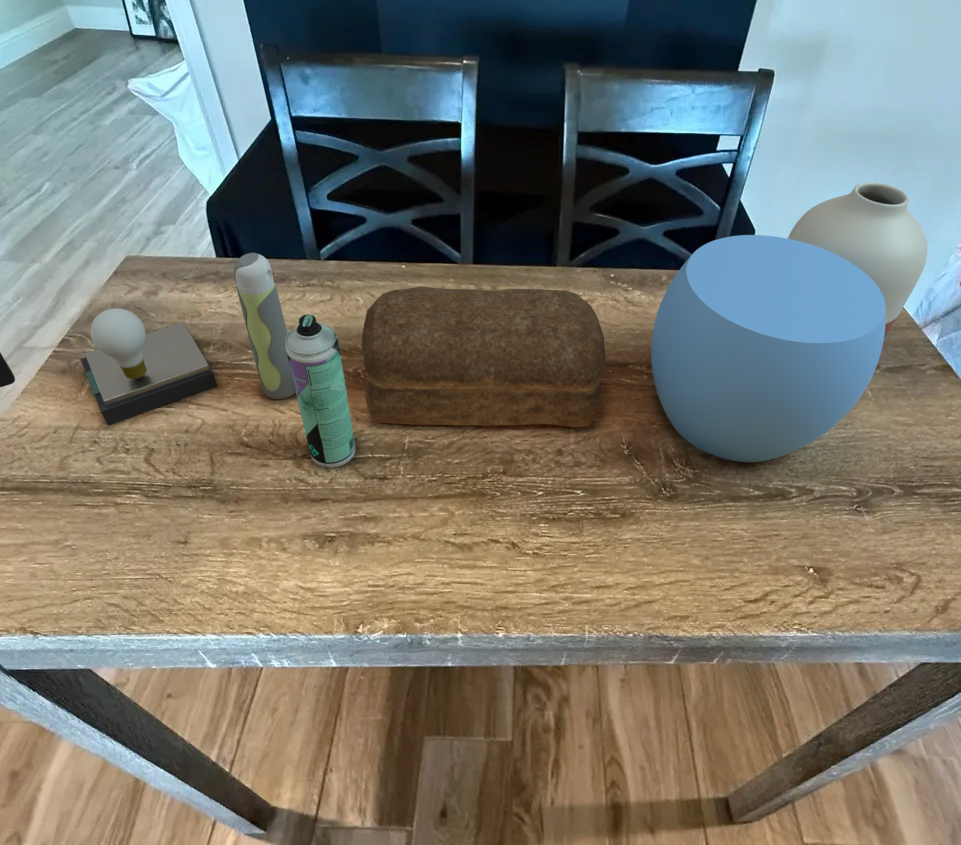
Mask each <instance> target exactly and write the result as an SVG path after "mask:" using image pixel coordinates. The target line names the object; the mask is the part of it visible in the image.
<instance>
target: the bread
mask: <svg viewBox="0 0 961 845" xmlns="http://www.w3.org/2000/svg"><path fill="white" fill-rule="evenodd" d="M605 347H606V346H605V337H604V333H603V330H602V327H601V324H600V321H599V318H598V316H597V314H596V312H595V309H594V308H593V306H591V305H590V304H589V302H587V301H586V300H584V298H583V297H581V296H580V295H579V294H577V293H575V292H572V291H569V290H565V289H564V290H563V289H545V288H544V289H542V288H506V289H498V290H491V289H471V288H442V287H440V288H439V287H430V286H415V287H410V288H400V289H399V288H398V289H393V290H390V291H387V292H383V293H381V294H380V296H379V297H377V298H376V300H374V301H373V303H372V304H371V305H370V307H368V309H367V310H366V313H365V318H364V324H363V329H362V335H361V354H362V363H363V367H364V371H365V376H366V377H365V380H366V381H365V403H366V407H367V411H368V413H369V415H370V416H371V417H372V418H371V419H373V420H374V422H375V423H379V424H396V425H417V426H419V425H421V426H422V425H424V426H426V425H428V426H429V425H432V426H436V425H437V426H439V425H440V426H446V425H447V426H487V427H488V426H489V427H490V426H524V425H525V426H527V425H554V426H563V427H569V428H586V427H590V426H591V424H592V422H593V421H594V419H595V417H596V413H597V411H598V408H599V406H600V401H601V379H602V377H603V373H604V369H605V365H606V349H605Z"/></svg>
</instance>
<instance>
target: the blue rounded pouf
mask: <svg viewBox="0 0 961 845" xmlns="http://www.w3.org/2000/svg"><path fill="white" fill-rule="evenodd" d="M885 323H886V307H885V300H884V297H883V295H882V293H881V291H880V289H879V288H878V286H877V285H876V283H875V282H874V281H873V280H872V279H871V278H870V277H869V276H868V275H867V274H866V273H865V272H863V271H862V270H861V269H860V268H858V267H857V266H855V265H854V264H852V263H851V262H849V261H847V260H846V259H844V258H842V257H840V256H838V255H836V254H834V253H832V252H830V251H827V250H825V249H822V248H820V247H817V246H814V245H811V244H808V243H804V242H800V241H796V240H792V239H788V237H787V238H786V237H783V236H782V237H780V236H773V235H763V234H760V235H759V234H741V235H732V236H726V237H722V238H717V239H715V240H714V239H713V240H712V241H710V242H707V243H705V244H703V245H702V246H700V247H698V248H697V249H696V250H695V251H694V252H693V253H692V254H691V255H690V256H689V257H688V259H687V260H686V261H685V262H684V263H683V265H681V267H680V268H679V270H678V271H677V272H676V274H675V275H674V277H673V279H672V281H671V282H670V283H669V285H668V287H667V289H666V291H665V293H664V295H663V297H662V299H661V302H660V304H659V306H658V309H657V313H656V315H655V320H654V323H653V328H652V335H651V344H650V363H651V370H652V377H653V378H652V379H653V384H654V387H655V390H656V394H657V396H658V399H659V401H660V404H661V406H662V408H663V411H664V413H665V415H666V417H667V419H668V420H669V422H670V423H671V425H672V427H673V428H674V429H675V431H676V432H677V433H678V434H679V435H680V436H681V437H682V438H683V439H684V440H685V441H687V442H688V443H689V444H691V445H692V446H694V447H695V448H697V449H699V450H701V451H703V452H705V453H707V454H709V455H712V456H714V457H717V458H720V459H723V460H726V461H727V460H728V461H732V462H738V463H760V462H767V461H770V460H774V459H779V458H781V457H784V456H787V455H788V454H792V453H793V452H795V451H798V450H800V449H801V448H804V447H806V446H808V445H809V444H811V443H813V442H814V441H816V440H818V439H819V438H821V437H822V436H824V435H825V434H827V432H829V431H830V430H832V429H833V428H834V427H835V426H836V425H837V424H838V423H840V421H842V420H843V419H844V418H845V417H846V416H847V415H848V413H850V411H851V410H852V409H853V408H854V406H855V405H856V404H857V403H858V402H859V400H860V398H862V396H863V394H864V392H865V391H866V389H867V388H868V386H869V384H870V382H871V380H872V379H873V376H874V374H875V372H876V369H877V367H878V364H879V361H880V358H881V354H882V350H883V345H884V341H885V339H884V334H885Z"/></svg>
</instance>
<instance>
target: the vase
mask: <svg viewBox="0 0 961 845" xmlns="http://www.w3.org/2000/svg"><path fill="white" fill-rule="evenodd" d="M909 201H910V199H909V196H908V195H907V193H905V192H904V191H903V190H902V189H899V188H898V187H895V186H893V185H890V184H887V183H882V182H874V181H867V182H866V181H864V182H860V183H858V184H856V185H855V186H854V187H853V189H852V190H851V191H850V193H847V194H843V195H840V196H836V197H832V198H830V199H826V200H824V201H822V202H820V203H818V204H816V205H814V206H812V207H810V209H808V210H807V211H806V212H805V213H803V215H802V216H801V217H800V218H799V219H798V221H797V222H796V223H795V224H794V226H793V227H792V229H791V231H790V232H789V235H788V236H787V239H792V240H796V241H800V242H804V243H808V244H811V245H814V246H817V247H820V248H822V249H825V250H827V251H830V252H832V253H834V254H836V255H838V256H840V257H842V258H844V259H846V260H847V261H849V262H851V263H852V264H854V265H855V266H857V267H858V268H860V269H861V270H862V271H863V272H865V273H866V274H867V275H868V276H869V277H870V278H871V279H872V280H873V281H874V282H875V283H876V285H877V286H878V288H879V289H880V291H881V293H882V295H883V297H884V300H885V307H886V323H885V334H884V340H885V339H886V337H887V336H888V334H889V332H890V331H891V329H892V328H893V325H894V324H895V322H896V320H897V319H898V317H899V315H900V314H901V312H902V310H903V309H904V306H906V303H907V301H908V300H909V298H910V296H911V295H912V293H913V291H914V289H915V287H916V285H917V284H918V281H919V280H920V278H921V275H922V273H923V271H924V269H925V266H926V262H927V258H928V257H927V256H928V240H927V237H926V234H925V232H924V230H923V228H922V226H921V225H920V222H918V220H917V219H916V218H915V217H914V215H913V214H912V213H911V212H910V211H909V209H908V205H909Z"/></svg>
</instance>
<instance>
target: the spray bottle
mask: <svg viewBox="0 0 961 845" xmlns="http://www.w3.org/2000/svg"><path fill="white" fill-rule="evenodd" d="M233 278H234V283H235V284H236V287H235V288H236V293H237V296H238V299H239V303H240V307H241V311H242V315H243V320H244V324H245V327H246V331H247V335H248V339H249V343H250V346H251V351H252V354H253V358H254V364H255V367H256V370H257V375H258V378H259V382H260V386H261V390H262V392H263V394H264V395H265V396H266V397H268V398H270V399H273V400H283V399H288V398H290V397H292V396H293V395H296V391H295V386H294V382H293V378H292V373H291V369H290V365H289V361H288V356H287V352H286V343H285V338H286V336H287V334H288V330H287V325H286V322H285V317H284V313H283V310H282V305H281V301H280V297H279V293H278V288H277V286H276V285H275V280H274V274H273V271H272V267H271V264H270V261H269V260H268V259H267V257H265V256H263V255H262V254H260V253H256V252H249V253H245V254H243V255H242V256H240V257H239V258H238V259H237V260H236V262H235V265H234V268H233Z"/></svg>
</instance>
